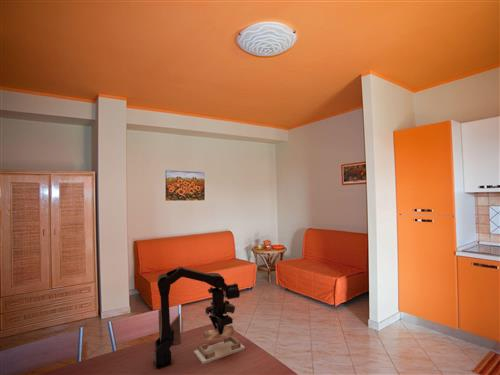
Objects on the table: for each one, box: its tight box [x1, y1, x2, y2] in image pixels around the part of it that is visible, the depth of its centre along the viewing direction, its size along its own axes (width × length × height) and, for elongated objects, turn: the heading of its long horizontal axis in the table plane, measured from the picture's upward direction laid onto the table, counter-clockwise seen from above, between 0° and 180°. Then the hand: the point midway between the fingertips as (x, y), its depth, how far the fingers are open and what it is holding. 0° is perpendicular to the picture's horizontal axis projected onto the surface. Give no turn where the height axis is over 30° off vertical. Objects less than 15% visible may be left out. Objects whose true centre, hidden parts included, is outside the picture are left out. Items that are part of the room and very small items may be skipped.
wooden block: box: [158, 307, 182, 345], centre depth 151 cm, size 4×11×18 cm, turn 96°
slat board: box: [193, 335, 246, 365], centre depth 142 cm, size 22×11×3 cm, turn 122°
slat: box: [203, 324, 235, 342], centre depth 142 cm, size 14×4×3 cm, turn 114°
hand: (218, 332), depth 142 cm, fingers closed on slat, 4 cm apart
